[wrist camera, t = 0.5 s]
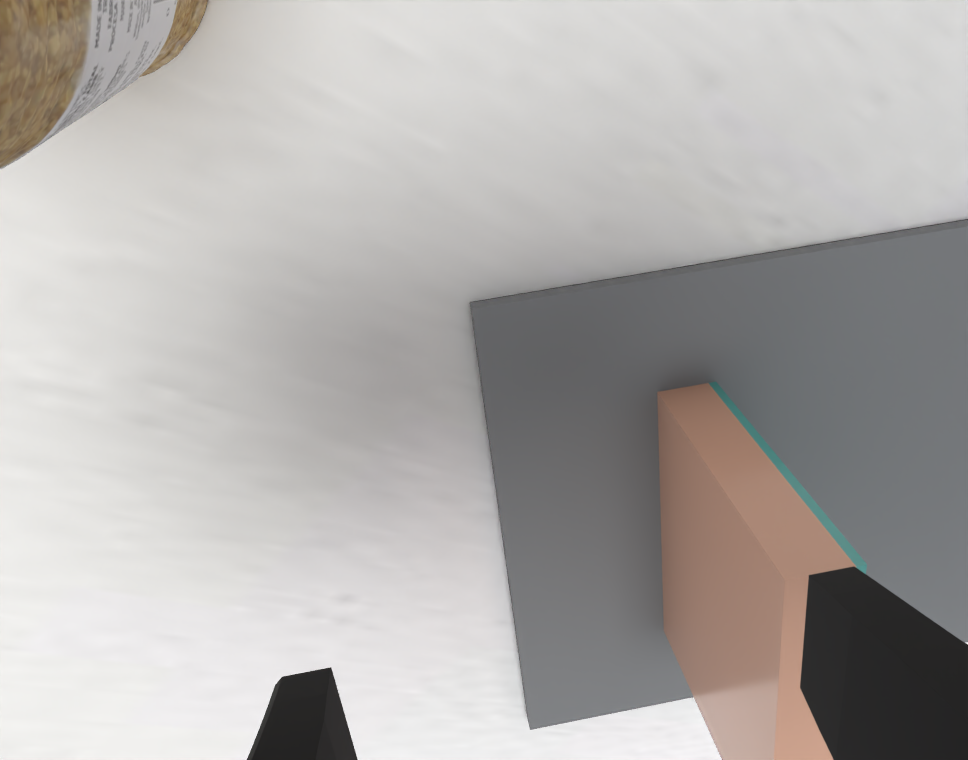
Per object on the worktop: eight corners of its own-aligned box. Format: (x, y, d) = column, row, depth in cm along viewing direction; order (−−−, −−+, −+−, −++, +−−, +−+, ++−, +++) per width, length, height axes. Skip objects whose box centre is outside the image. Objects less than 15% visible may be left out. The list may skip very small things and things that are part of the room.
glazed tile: (715, 381, 21) (866, 564, 15) (713, 620, 25) (833, 845, 19) (657, 392, 21) (784, 580, 15) (663, 630, 25) (767, 860, 19)
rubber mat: (1194, 181, 21) (1208, 186, 20) (1075, 609, 27) (1085, 618, 27) (470, 302, 20) (472, 308, 19) (527, 719, 26) (530, 729, 26)
